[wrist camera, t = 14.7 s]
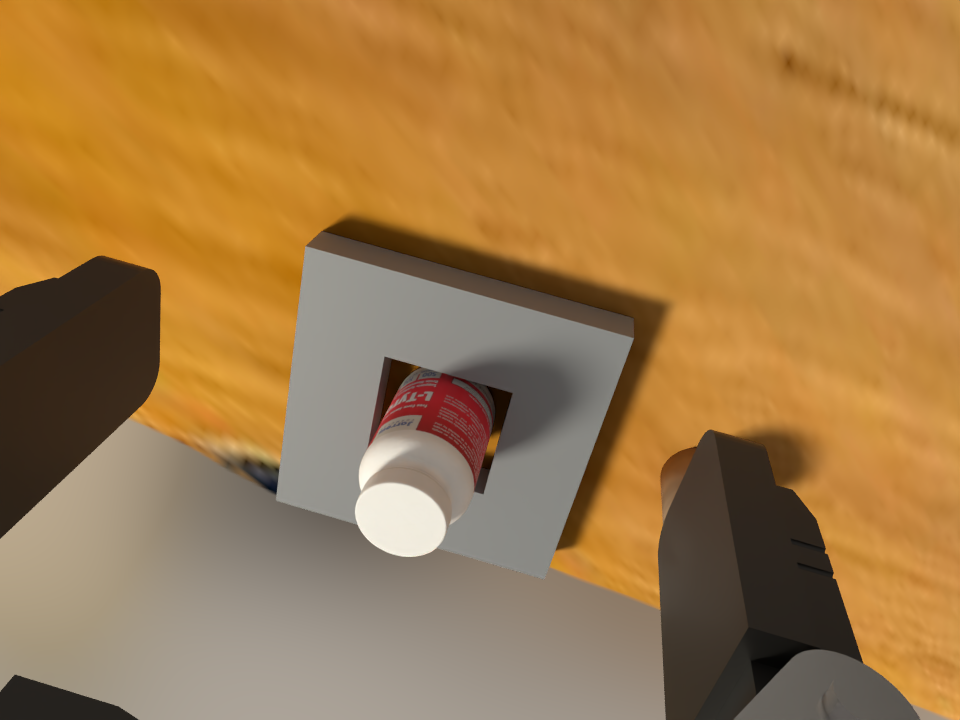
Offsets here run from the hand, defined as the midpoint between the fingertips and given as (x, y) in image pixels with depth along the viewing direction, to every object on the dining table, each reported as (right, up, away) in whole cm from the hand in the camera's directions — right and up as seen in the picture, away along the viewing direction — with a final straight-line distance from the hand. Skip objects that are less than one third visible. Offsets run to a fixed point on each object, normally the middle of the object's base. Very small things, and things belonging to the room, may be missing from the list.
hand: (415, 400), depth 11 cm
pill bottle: (-1, -2, +36) cm, 36 cm away
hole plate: (-1, -2, +36) cm, 36 cm away
